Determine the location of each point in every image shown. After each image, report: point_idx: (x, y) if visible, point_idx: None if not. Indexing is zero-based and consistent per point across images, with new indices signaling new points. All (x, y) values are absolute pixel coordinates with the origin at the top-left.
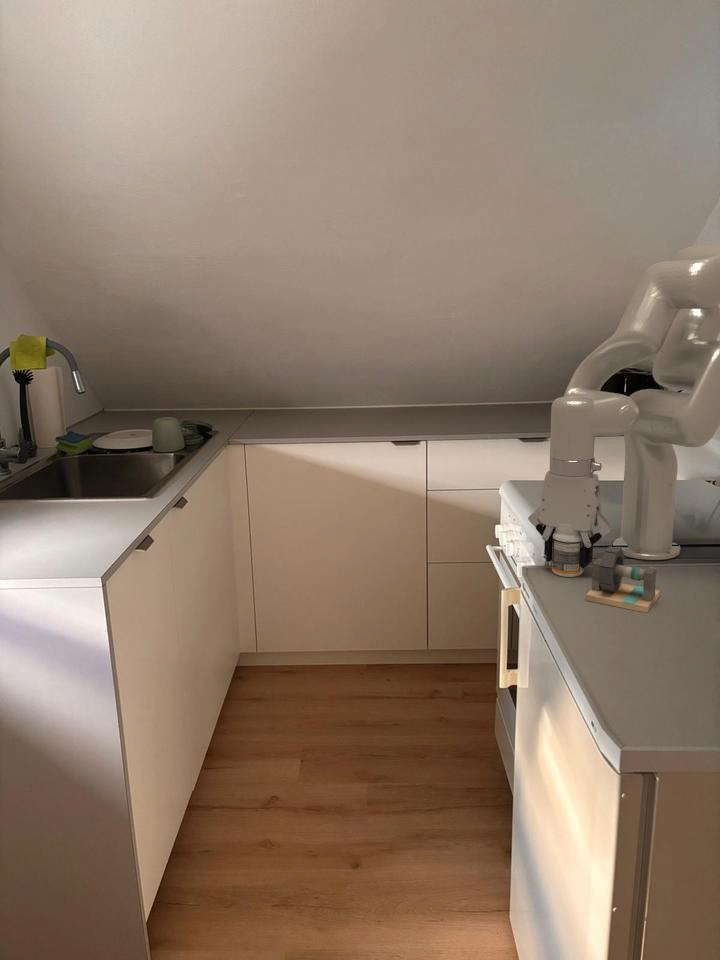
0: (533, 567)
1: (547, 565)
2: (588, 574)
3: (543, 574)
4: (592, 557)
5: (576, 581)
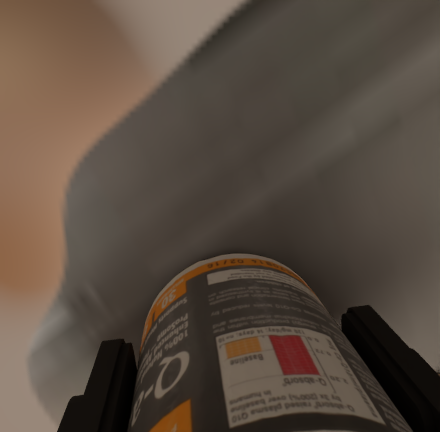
0: (40, 370)
1: (85, 299)
2: (339, 288)
3: None
4: (420, 357)
5: None
